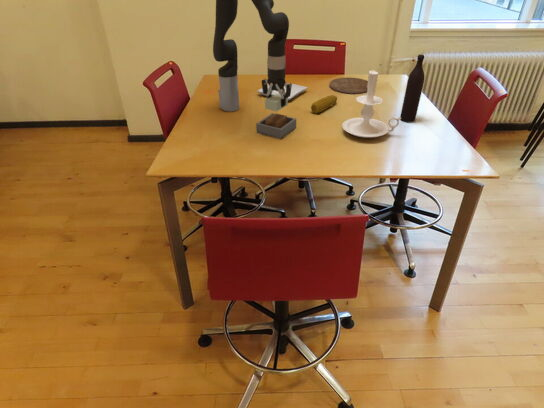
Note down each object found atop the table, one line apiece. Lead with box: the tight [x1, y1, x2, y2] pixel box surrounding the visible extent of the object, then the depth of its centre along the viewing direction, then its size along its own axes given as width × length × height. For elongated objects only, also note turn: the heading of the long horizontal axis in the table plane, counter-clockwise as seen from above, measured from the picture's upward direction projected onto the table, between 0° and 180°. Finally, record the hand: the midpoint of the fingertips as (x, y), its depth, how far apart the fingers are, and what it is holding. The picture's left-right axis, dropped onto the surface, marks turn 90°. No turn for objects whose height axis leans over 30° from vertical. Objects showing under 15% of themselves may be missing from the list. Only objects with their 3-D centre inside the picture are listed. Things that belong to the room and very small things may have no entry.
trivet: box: [328, 77, 368, 95], centre depth 222 cm, size 25×25×2 cm
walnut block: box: [266, 112, 288, 129], centre depth 173 cm, size 6×9×5 cm, turn 149°
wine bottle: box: [399, 54, 425, 123], centre depth 175 cm, size 7×7×30 cm
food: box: [310, 94, 338, 114], centre depth 195 cm, size 21×6×6 cm, turn 143°
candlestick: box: [341, 70, 401, 139], centre depth 164 cm, size 21×25×28 cm
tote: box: [255, 112, 297, 140], centre depth 174 cm, size 13×14×4 cm
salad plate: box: [256, 82, 308, 101], centre depth 213 cm, size 21×21×3 cm
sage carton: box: [264, 94, 289, 113], centre depth 167 cm, size 6×9×4 cm, turn 146°
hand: (276, 104), depth 168 cm, fingers closed on sage carton, 6 cm apart
